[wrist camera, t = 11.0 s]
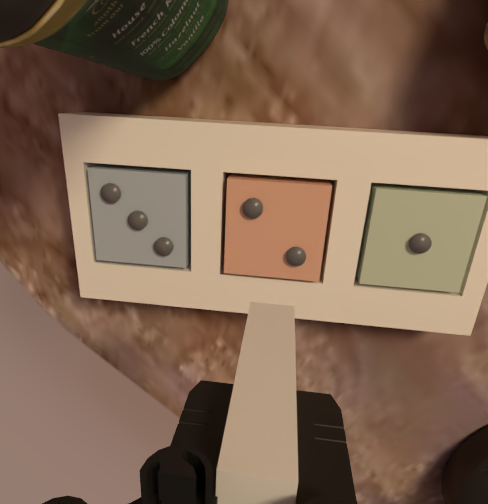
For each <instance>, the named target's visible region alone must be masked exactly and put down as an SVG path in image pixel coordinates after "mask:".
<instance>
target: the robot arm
mask: <svg viewBox="0 0 488 504" xmlns="http://www.w3.org/2000/svg"><path fill="white" fill-rule="evenodd" d="M140 482H141V498H139V499H137V500H135V501H133V502H131V503H129V504H357V501H356V496H355V490H354V484H353V478H352V472H351V466H350V460H349V454H348V448H347V444H346V437H345V431H344V425H343V419H342V413H341V409H340V407H339V406H338V405H337V403H336V402H335V400H334V399H333V397H332V396H331V394H323V393H314V392H306V391H297V390H296V355H295V312H294V306H288V305H278V304H268V303H257V302H250V307H249V312H248V317H247V321H246V326H245V331H244V336H243V341H242V346H241V351H240V356H239V361H238V366H237V371H236V376H235V381H234V384H227V383H219V382H211V381H202V380H201V381H200V382H199V383H198V384H197V385H196V386H195V387H194V388H193V389H192V390H191V391H190V392H189V394H188V397H187V400H186V403H185V406H184V410H183V411H182V414H181V417H180V420H179V424H178V426H177V428H176V432H175V434H174V437H173V440H172V443H171V445H170V446H169V447H166V448H163V449H161V450H158V451H157V452H156V453H154V454H153V455H152V456H150V457H149V458H148V459H147V460H146V462H145V463H144V465H143V466H142V468H141V469H140ZM442 492H443V496H444V499H445V502H446V504H488V427H486V428H484V429H482V430H481V431H479V432H477V433H476V434H474V435H473V436H471V437H470V438H469V439H467V440H466V441H465V442H464V443H463V444H462V445H461V446H460V447H459V448H458V449H457V450H456V451H455V452H454V454H453V455H452V456H451V458H450V459H449V461H448V463H447V465H446V467H445V470H444V473H443V478H442ZM43 504H87V503H86V502H85V501H83V500H82V499H81V498H76V497H71V496H64V497H58V498H53V499H51V500H49V501H47V502H45V503H43Z"/></svg>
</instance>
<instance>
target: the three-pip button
mask: <svg viewBox="0 0 488 504" xmlns="http://www.w3.org/2000/svg"><path fill="white" fill-rule="evenodd" d="M87 170H88V180H89V190H90V200H91V210H92V220H93V230H94V240H95V249H96V259H97V260H102V261H113V262H124V263H136V264H147V265H158V266H169V267H180V268H186V267H187V266H188V264H189V262H190V261H191V170H186V169H172V168H157V167H143V166H129V165H114V164H98V165H95V166H92V167H89V168H87Z"/></svg>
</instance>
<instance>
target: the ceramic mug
mask: <svg viewBox="0 0 488 504" xmlns="http://www.w3.org/2000/svg"><path fill="white" fill-rule="evenodd" d="M484 42H485V45H486V48H487V50H488V23H487V26H486V28H485V31H484Z"/></svg>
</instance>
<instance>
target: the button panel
mask: <svg viewBox="0 0 488 504" xmlns="http://www.w3.org/2000/svg"><path fill="white" fill-rule="evenodd" d="M58 117H59V125H60V133H61V141H62V150H63V158H64V166H65V174H66V182H67V190H68V199H69V207H70V215H71V223H72V231H73V239H74V248H75V256H76V264H77V272H78V280H79V288H80V296H81V297H84V298H94V299H104V300H115V301H125V302H135V303H145V304H155V305H165V306H175V307H185V308H196V309H206V310H216V311H226V312H236V313H246V314H248V312H249V307H250V302H257V303H268V304H278V305H288V306H294V312H295V318H297V319H307V320H317V321H327V322H337V323H348V324H358V325H368V326H378V327H388V328H398V329H408V330H419V331H429V332H439V333H449V334H459V335H469V336H471V333H472V329H473V326H474V323H475V320H476V317H477V314H478V311H479V308H480V304H481V301H482V298H483V295H484V292H485V289H486V286H487V282H488V136H482V135H465V134H448V133H431V132H414V131H397V130H380V129H363V128H346V127H329V126H313V125H296V124H279V123H262V122H245V121H228V120H211V119H194V118H177V117H160V116H144V115H127V114H110V113H93V112H74V113H58ZM98 164H114V165H129V166H143V167H157V168H172V169H186V170H191V261H190V262H189V264H188V266H187V267H186V268H180V267H169V266H158V265H147V264H136V263H124V262H113V261H102V260H97V259H96V249H95V240H94V230H93V220H92V210H91V200H90V190H89V180H88V170H87V168H89V167H92V166H95V165H98ZM230 173H243V174H257V175H272V176H286V177H300V178H315V179H329V180H331V182H330V183H331V185H332V191H331V199H330V206H329V213H328V221H327V228H326V235H325V242H324V250H323V257H322V264H321V272H320V279H319V282H317V281H306V280H295V279H284V278H273V277H262V276H251V275H240V274H229V273H224V253H225V224H226V194H227V178H228V177H229V176H230ZM371 183H386V184H401V185H415V186H429V187H443V188H458V189H472V190H475V191H477V192H479V193H481V194H483V195H485V196H487V199H486V203H485V206H484V209H483V213H482V216H481V220H480V223H479V227H478V230H477V233H476V237H475V240H474V244H473V247H472V251H471V254H470V257H469V261H468V264H467V268H466V271H465V275H464V278H463V281H462V285H461V288H460V292H459V293H456V292H445V291H434V290H423V289H412V288H401V287H390V286H379V285H368V284H359V282H358V279H357V277H356V269H357V263H358V257H359V251H360V246H361V240H362V234H363V229H364V223H365V217H366V211H367V206H368V200H369V194H370V189H371Z"/></svg>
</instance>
